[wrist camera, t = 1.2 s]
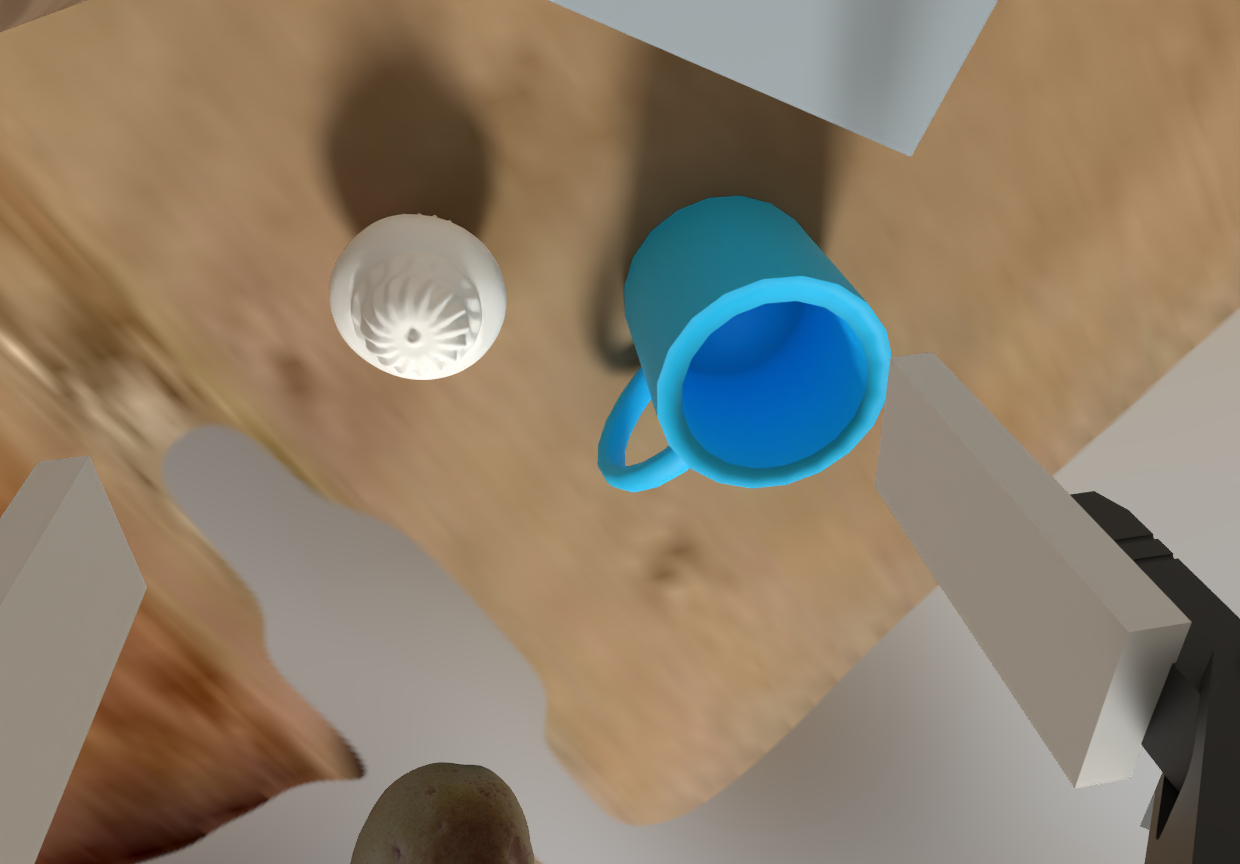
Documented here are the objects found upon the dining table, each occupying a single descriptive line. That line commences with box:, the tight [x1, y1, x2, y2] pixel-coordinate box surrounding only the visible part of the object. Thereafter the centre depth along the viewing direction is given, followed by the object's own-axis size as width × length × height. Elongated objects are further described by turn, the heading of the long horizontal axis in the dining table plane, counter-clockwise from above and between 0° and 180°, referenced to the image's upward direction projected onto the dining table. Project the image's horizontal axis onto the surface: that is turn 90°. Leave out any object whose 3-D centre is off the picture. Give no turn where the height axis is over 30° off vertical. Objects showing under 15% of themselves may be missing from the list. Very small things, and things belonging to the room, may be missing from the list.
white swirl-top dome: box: [329, 213, 507, 380], centre depth 33 cm, size 6×6×7 cm
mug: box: [598, 196, 892, 492], centre depth 35 cm, size 12×8×8 cm
